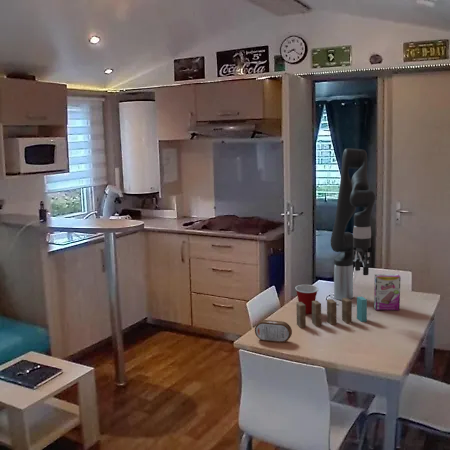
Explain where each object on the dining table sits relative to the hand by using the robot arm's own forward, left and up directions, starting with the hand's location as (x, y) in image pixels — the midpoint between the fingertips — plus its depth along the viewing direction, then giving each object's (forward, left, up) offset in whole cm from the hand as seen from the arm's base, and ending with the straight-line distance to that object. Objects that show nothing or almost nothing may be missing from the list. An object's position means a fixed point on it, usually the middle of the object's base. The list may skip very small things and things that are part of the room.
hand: (361, 272), depth 246 cm
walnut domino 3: (0, -14, -22) cm, 26 cm away
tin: (+14, -44, -22) cm, 51 cm away
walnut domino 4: (0, -7, -22) cm, 23 cm away
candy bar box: (-11, +18, -22) cm, 30 cm away
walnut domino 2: (0, -21, -22) cm, 30 cm away
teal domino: (0, 0, -22) cm, 22 cm away
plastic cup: (-17, -19, -22) cm, 34 cm away
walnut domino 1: (0, -28, -22) cm, 35 cm away
